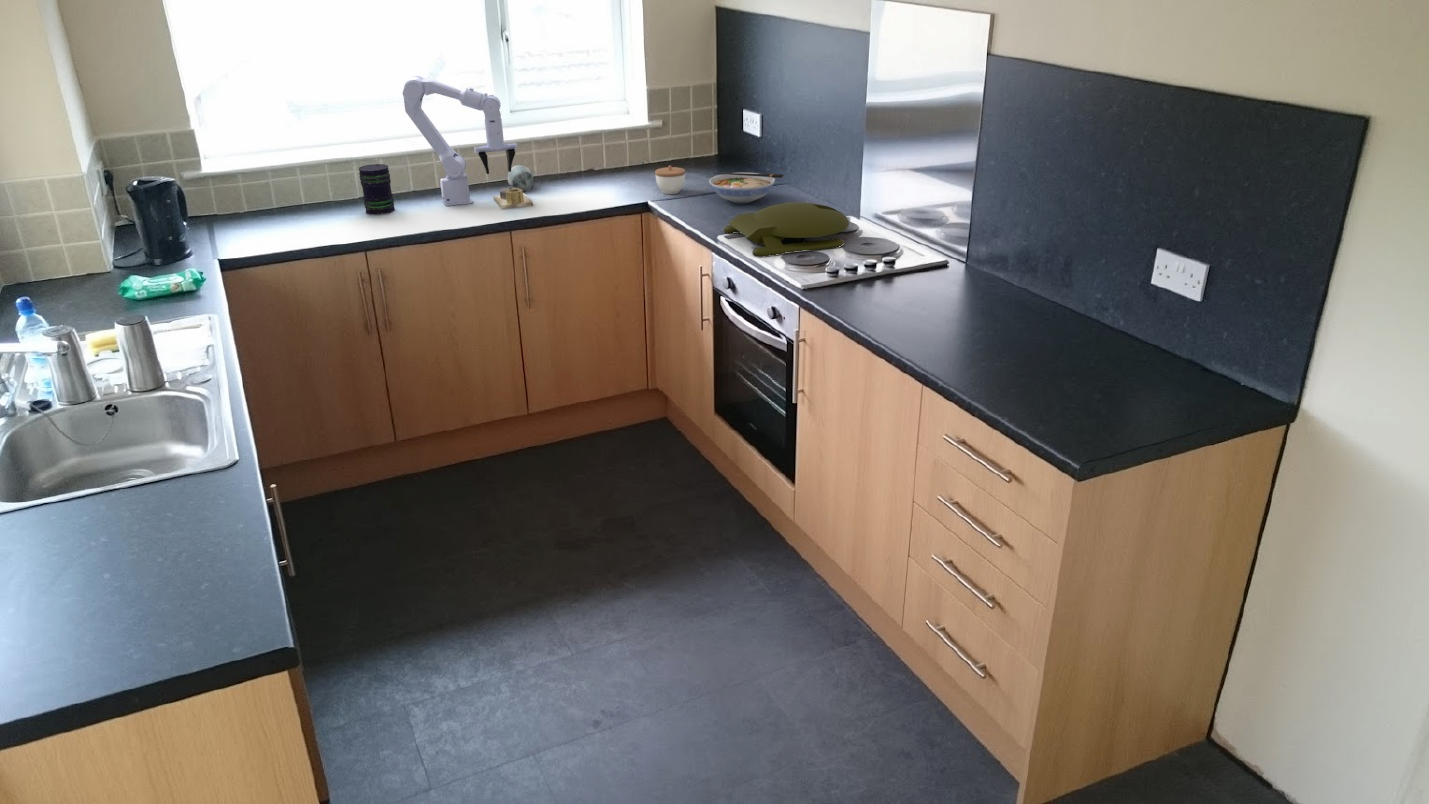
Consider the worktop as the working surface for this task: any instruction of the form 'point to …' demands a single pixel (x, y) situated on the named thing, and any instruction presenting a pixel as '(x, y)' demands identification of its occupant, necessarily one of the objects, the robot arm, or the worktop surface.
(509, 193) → the brass gear
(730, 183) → the ramen bowl
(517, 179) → the spool
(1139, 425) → the worktop surface
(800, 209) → the green sea turtle
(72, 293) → the worktop surface
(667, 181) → the lidded jar
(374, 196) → the black green cylinder
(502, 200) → the gear board
